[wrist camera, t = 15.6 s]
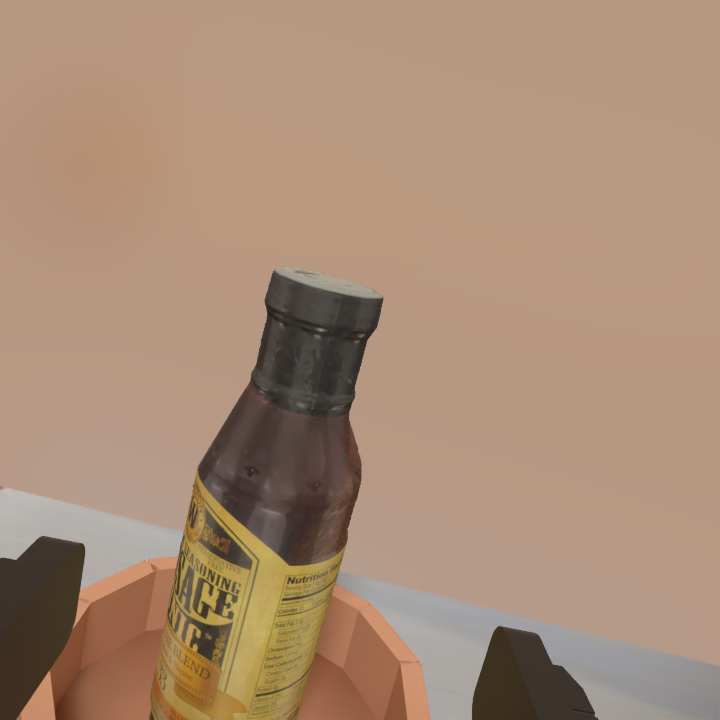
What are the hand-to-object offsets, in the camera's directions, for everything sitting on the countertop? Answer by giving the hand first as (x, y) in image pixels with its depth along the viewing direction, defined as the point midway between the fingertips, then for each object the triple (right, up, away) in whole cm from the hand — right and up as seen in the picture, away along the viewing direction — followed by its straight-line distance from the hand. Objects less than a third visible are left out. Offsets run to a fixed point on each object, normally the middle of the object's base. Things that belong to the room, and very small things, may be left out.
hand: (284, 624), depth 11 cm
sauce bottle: (-5, -11, +14) cm, 18 cm away
